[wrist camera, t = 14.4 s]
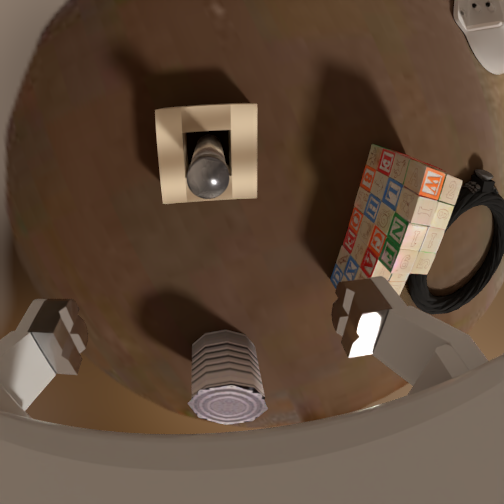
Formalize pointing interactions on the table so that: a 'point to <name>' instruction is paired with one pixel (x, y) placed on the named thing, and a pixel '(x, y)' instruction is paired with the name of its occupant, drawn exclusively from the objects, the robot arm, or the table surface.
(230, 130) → the light wooden square frame
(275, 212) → the table surface
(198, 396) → the can
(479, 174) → the cable lock
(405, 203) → the stack of blocks
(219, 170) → the silver metal rod
